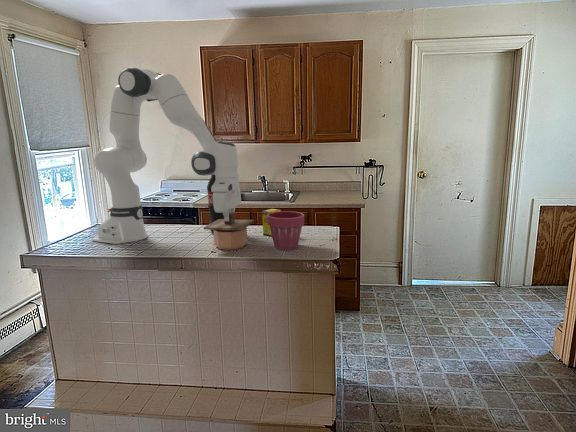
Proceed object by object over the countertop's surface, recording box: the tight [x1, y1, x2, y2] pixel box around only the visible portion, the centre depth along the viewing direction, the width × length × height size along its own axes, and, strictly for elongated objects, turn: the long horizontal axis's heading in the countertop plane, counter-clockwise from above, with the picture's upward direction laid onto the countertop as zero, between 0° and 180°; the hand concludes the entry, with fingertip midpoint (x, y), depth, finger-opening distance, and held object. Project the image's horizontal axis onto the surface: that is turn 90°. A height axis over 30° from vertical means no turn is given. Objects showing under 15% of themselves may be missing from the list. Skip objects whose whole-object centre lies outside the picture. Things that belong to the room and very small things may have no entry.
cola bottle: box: [206, 174, 224, 234], centre depth 172 cm, size 8×8×30 cm
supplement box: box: [261, 208, 282, 238], centre depth 168 cm, size 6×6×11 cm
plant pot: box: [267, 210, 305, 251], centre depth 149 cm, size 14×14×13 cm
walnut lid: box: [203, 212, 255, 231], centre depth 151 cm, size 15×15×5 cm
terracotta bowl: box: [212, 226, 248, 251], centre depth 153 cm, size 12×12×7 cm
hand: (229, 219), depth 151 cm, fingers closed on walnut lid, 3 cm apart
